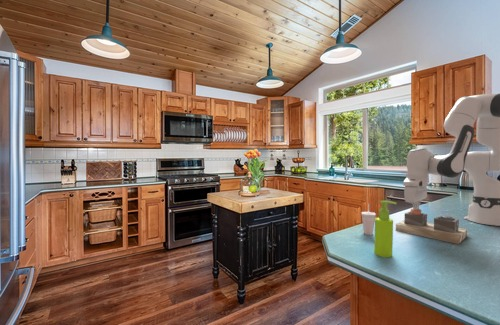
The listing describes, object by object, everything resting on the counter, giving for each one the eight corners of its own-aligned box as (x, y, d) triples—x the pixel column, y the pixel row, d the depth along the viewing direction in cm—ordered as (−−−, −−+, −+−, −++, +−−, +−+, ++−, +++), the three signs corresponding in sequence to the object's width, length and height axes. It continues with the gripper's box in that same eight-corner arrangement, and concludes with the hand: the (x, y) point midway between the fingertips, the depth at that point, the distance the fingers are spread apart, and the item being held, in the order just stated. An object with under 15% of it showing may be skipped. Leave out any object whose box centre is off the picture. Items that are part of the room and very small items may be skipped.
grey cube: (441, 223, 115) (441, 215, 115) (453, 225, 112) (453, 217, 112) (438, 225, 112) (439, 216, 112) (451, 227, 109) (451, 218, 109)
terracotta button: (412, 215, 124) (412, 208, 124) (422, 217, 121) (422, 209, 121) (409, 217, 122) (409, 209, 121) (419, 219, 118) (419, 210, 118)
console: (407, 224, 131) (408, 209, 131) (466, 235, 113) (467, 218, 112) (395, 230, 121) (396, 213, 121) (458, 244, 102) (459, 225, 102)
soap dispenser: (395, 259, 88) (396, 203, 87) (373, 255, 91) (374, 201, 90) (395, 253, 93) (397, 200, 92) (375, 249, 96) (376, 198, 95)
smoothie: (375, 232, 117) (376, 203, 117) (376, 236, 111) (376, 205, 111) (360, 230, 120) (361, 202, 119) (360, 234, 114) (361, 204, 113)
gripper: (416, 179, 130) (415, 205, 130) (401, 182, 117) (401, 211, 117) (431, 180, 125) (430, 207, 125) (417, 183, 112) (416, 213, 112)
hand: (416, 209), depth 121 cm, fingers closed, pressing on terracotta button
